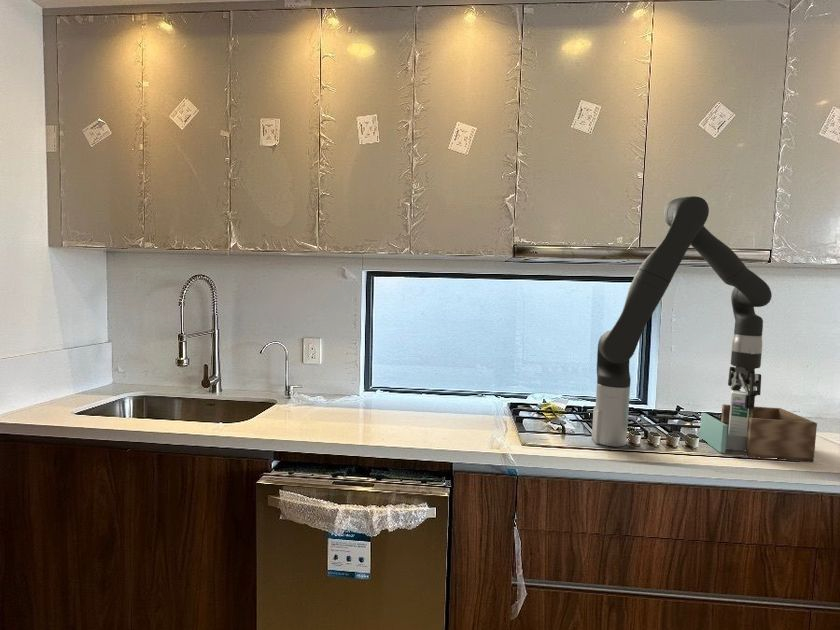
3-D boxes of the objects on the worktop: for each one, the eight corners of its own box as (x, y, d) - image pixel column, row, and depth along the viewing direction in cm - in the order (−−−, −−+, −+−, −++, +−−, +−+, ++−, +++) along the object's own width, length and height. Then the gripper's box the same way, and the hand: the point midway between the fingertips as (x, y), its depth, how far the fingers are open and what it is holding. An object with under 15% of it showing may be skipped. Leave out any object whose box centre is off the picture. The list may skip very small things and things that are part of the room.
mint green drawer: (720, 452, 152) (722, 425, 151) (699, 437, 166) (701, 412, 166) (772, 456, 150) (774, 428, 150) (746, 441, 165) (748, 415, 164)
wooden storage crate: (748, 457, 149) (751, 418, 149) (719, 439, 167) (722, 404, 167) (813, 462, 148) (817, 423, 147) (777, 443, 165) (780, 408, 165)
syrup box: (727, 440, 157) (731, 392, 156) (727, 436, 162) (731, 389, 161) (750, 444, 154) (754, 395, 153) (749, 439, 159) (753, 391, 158)
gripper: (722, 347, 164) (717, 399, 165) (745, 352, 150) (740, 410, 151) (748, 348, 163) (743, 400, 164) (773, 354, 149) (768, 411, 150)
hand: (742, 405), depth 157 cm, fingers open, 8 cm apart
